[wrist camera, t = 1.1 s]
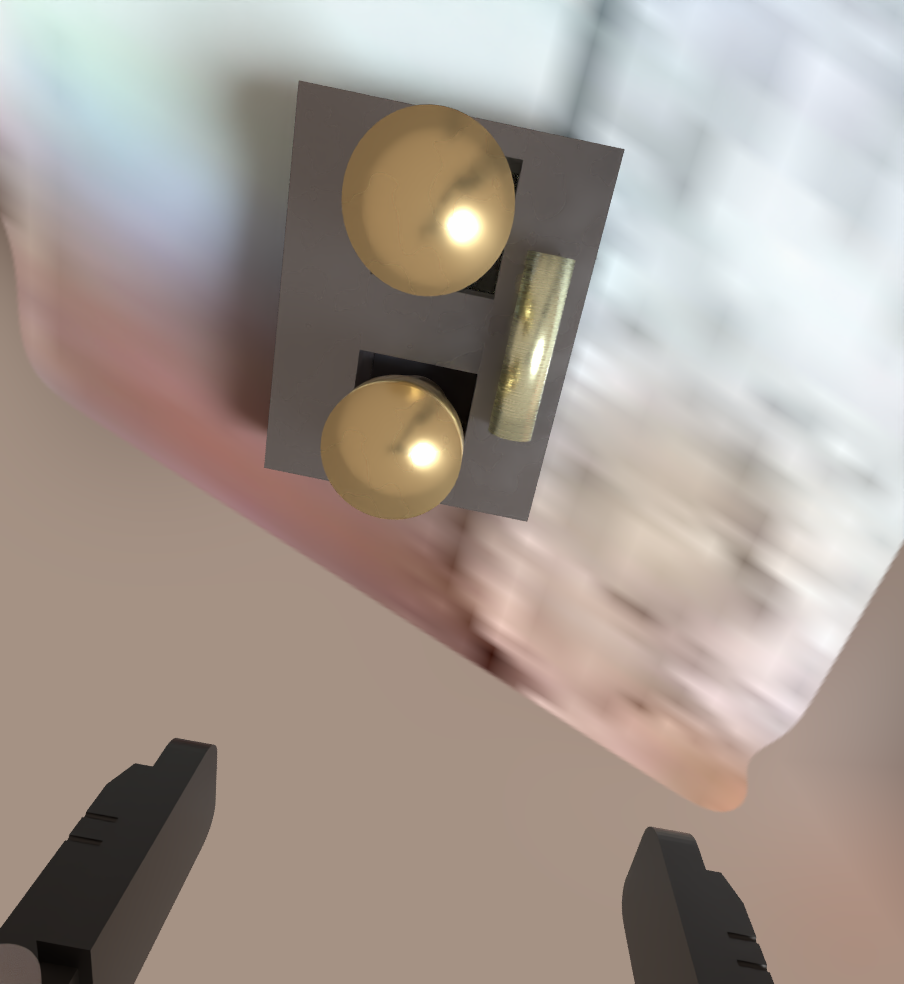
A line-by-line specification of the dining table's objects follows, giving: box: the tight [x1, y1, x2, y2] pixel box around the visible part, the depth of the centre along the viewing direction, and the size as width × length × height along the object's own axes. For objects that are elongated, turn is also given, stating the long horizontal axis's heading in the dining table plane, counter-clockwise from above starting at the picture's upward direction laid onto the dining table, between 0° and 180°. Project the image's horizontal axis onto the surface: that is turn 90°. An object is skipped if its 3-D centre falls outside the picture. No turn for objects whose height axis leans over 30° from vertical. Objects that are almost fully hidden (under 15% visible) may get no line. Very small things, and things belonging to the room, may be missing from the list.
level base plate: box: [264, 81, 624, 521], centre depth 26 cm, size 15×12×6 cm
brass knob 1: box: [342, 105, 515, 296], centre depth 21 cm, size 5×5×7 cm
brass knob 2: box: [320, 375, 464, 520], centre depth 25 cm, size 5×5×7 cm
